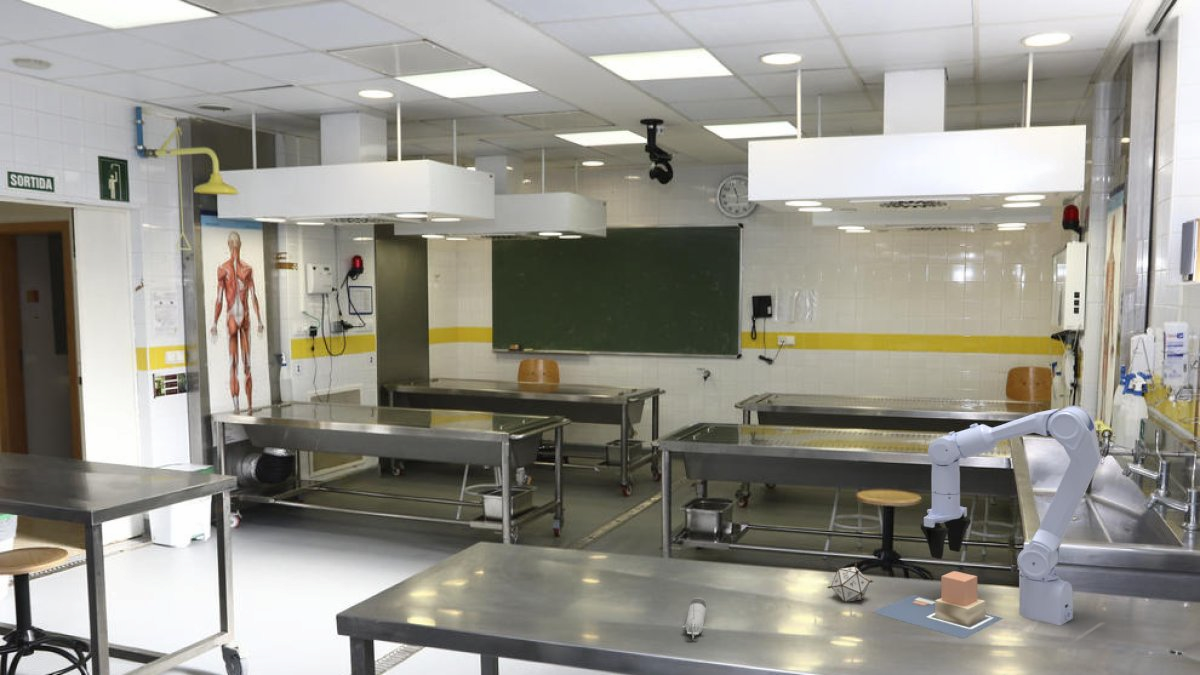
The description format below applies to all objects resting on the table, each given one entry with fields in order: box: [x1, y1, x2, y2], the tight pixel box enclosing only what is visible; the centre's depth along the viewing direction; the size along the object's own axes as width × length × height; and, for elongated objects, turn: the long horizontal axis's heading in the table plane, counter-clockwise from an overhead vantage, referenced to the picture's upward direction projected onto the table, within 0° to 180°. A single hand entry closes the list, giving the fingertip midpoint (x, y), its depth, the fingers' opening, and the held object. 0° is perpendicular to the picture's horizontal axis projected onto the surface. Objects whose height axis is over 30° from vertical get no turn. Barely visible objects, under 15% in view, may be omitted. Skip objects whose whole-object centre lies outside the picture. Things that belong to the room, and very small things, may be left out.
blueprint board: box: [871, 594, 1004, 639], centre depth 186 cm, size 20×16×1 cm
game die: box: [826, 563, 874, 603], centre depth 197 cm, size 9×8×10 cm
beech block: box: [934, 597, 986, 626], centre depth 184 cm, size 7×7×4 cm
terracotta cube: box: [940, 570, 978, 606], centre depth 184 cm, size 5×5×5 cm
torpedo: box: [681, 597, 707, 639], centre depth 185 cm, size 18×5×6 cm, turn 171°
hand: (945, 554), depth 196 cm, fingers open, 7 cm apart
